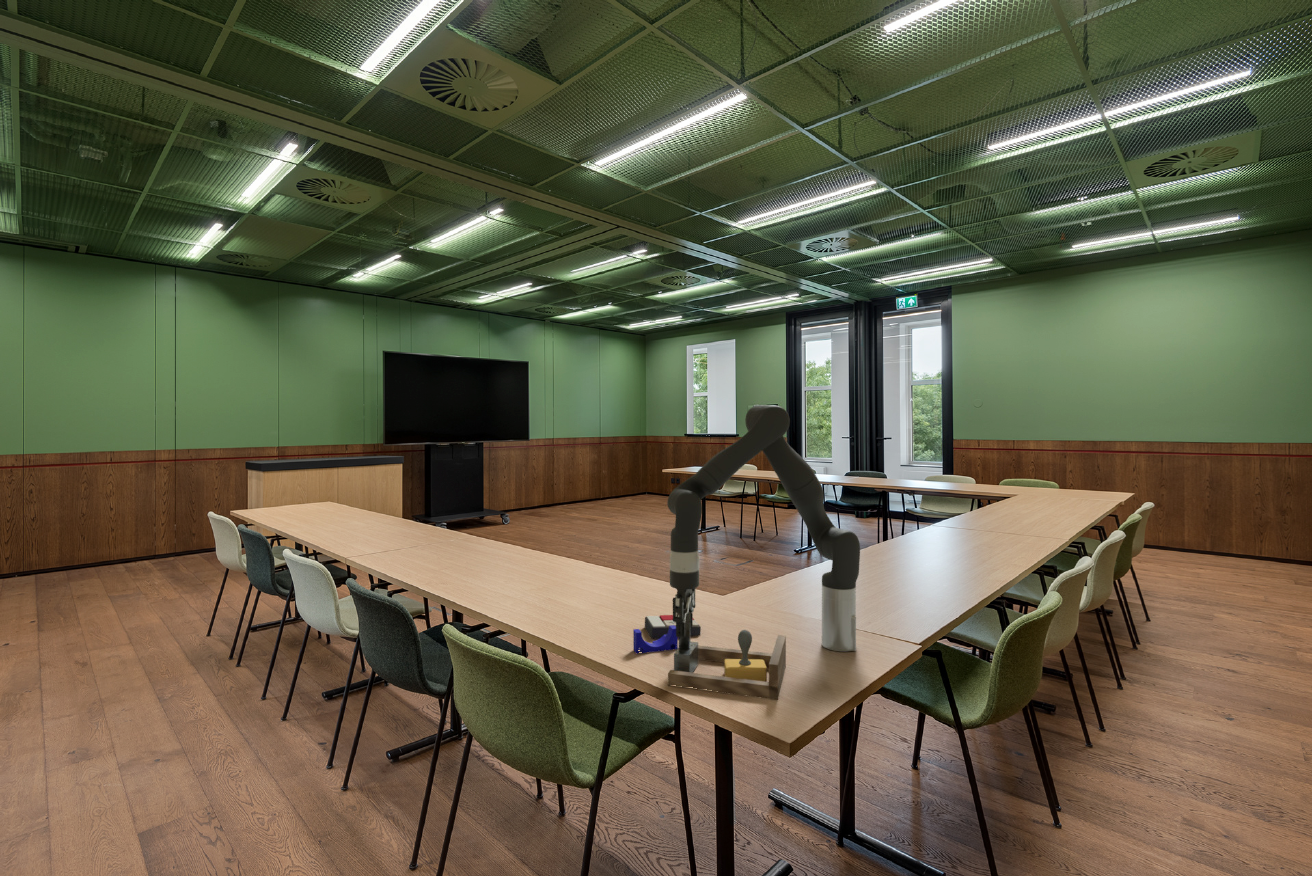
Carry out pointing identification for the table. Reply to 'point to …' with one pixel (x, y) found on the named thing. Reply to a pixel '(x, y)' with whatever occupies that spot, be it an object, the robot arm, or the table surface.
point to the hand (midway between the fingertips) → (684, 631)
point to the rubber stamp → (745, 662)
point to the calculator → (665, 626)
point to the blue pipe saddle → (659, 645)
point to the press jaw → (686, 651)
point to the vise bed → (736, 685)
